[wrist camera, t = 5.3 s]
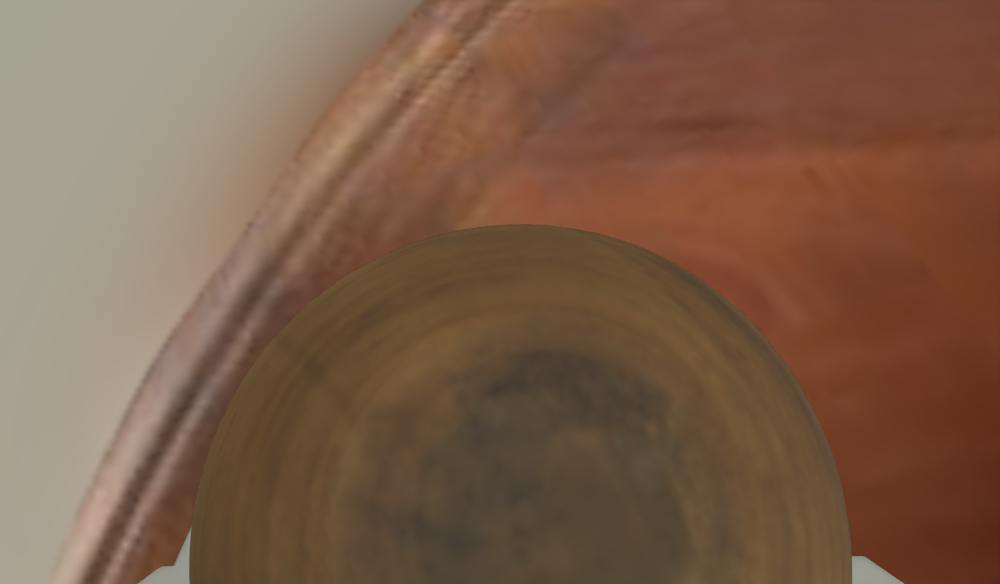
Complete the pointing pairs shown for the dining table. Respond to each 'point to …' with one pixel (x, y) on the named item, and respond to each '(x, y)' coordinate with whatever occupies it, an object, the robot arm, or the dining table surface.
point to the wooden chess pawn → (520, 430)
